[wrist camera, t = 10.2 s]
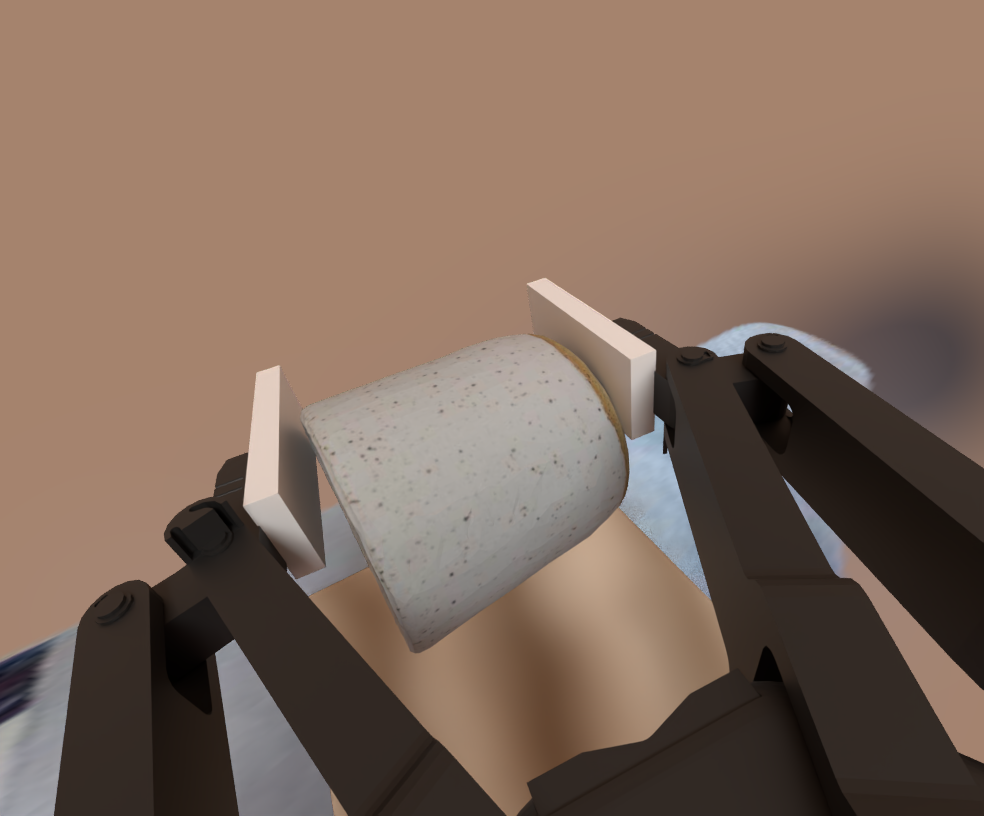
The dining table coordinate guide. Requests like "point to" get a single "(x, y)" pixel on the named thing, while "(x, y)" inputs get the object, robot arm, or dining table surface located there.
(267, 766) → the dining table surface
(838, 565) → the dining table surface
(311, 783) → the dining table surface
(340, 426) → the ceramic mug
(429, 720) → the birch board
